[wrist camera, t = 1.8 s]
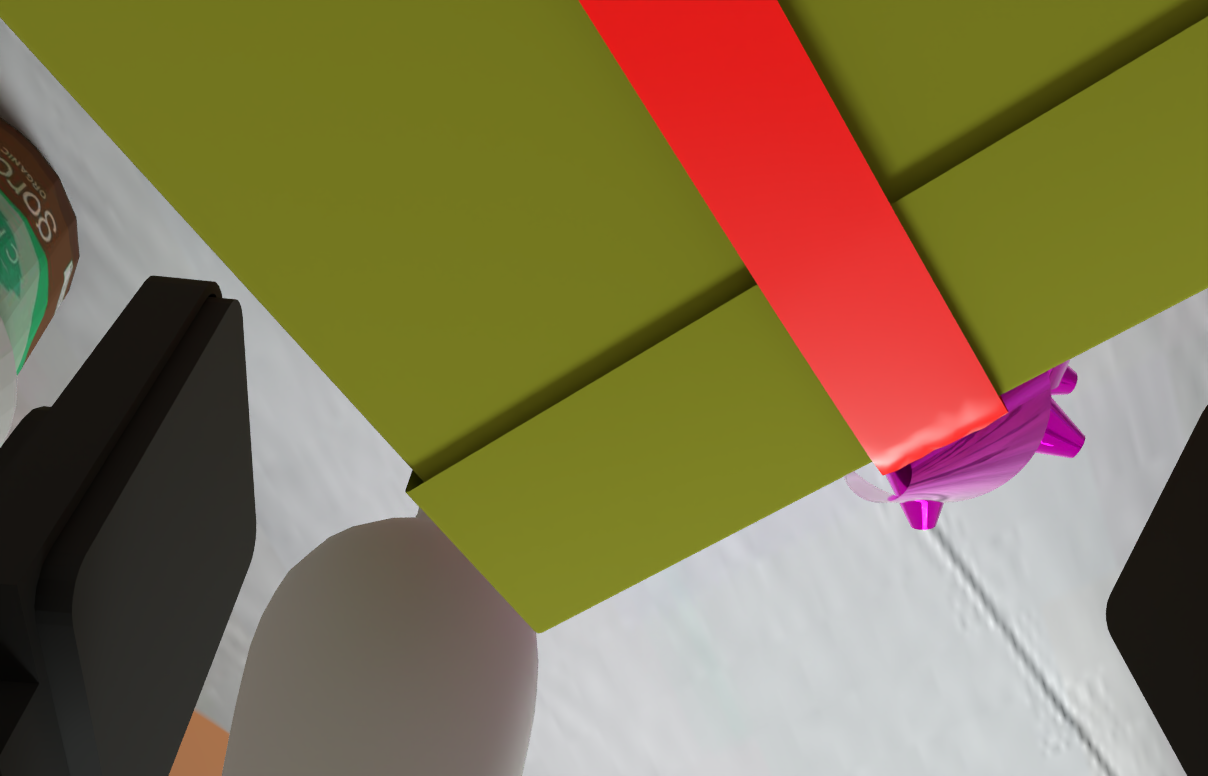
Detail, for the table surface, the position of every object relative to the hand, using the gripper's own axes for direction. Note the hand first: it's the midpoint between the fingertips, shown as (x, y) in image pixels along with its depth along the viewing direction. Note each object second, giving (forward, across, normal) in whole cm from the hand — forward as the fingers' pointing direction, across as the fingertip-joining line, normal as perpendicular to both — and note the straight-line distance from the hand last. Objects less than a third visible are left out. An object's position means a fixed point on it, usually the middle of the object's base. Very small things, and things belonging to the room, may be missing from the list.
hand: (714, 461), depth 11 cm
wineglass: (+27, +4, +16) cm, 32 cm away
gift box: (+27, -2, 0) cm, 27 cm away
